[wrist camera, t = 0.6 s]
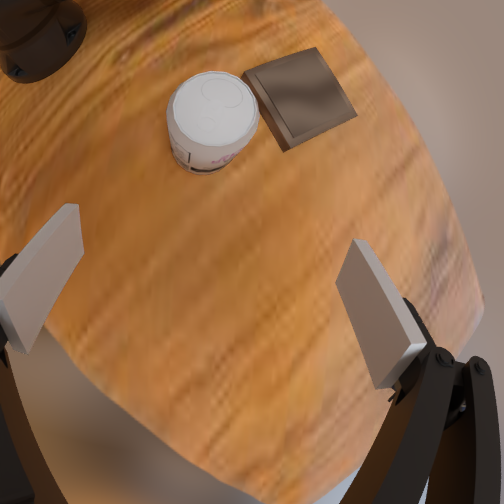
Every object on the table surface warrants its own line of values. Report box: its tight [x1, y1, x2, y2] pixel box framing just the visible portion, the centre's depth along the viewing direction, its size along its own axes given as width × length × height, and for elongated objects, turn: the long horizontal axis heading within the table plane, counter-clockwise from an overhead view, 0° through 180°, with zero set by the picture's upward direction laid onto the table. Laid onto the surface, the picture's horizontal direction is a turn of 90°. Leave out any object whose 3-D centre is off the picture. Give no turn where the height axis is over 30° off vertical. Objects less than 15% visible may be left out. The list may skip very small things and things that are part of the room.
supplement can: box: [166, 71, 260, 175], centre depth 30 cm, size 8×8×15 cm
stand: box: [241, 47, 358, 153], centre depth 38 cm, size 12×12×3 cm
